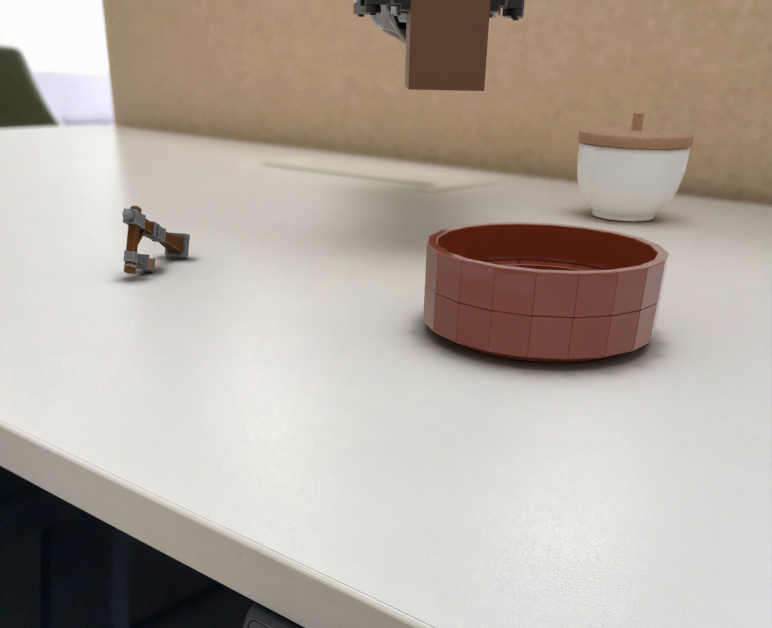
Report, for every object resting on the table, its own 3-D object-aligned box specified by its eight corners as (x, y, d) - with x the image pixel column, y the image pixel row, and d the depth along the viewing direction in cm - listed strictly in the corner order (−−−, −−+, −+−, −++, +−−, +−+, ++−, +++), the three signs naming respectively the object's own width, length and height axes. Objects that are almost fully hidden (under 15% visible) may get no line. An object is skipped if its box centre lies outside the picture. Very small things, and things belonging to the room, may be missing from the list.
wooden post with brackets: (108, 268, 55) (113, 199, 55) (163, 290, 63) (168, 229, 62) (133, 270, 55) (138, 201, 54) (185, 292, 63) (190, 231, 62)
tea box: (404, 86, 64) (408, -71, 59) (475, 87, 64) (485, -70, 59) (407, 89, 59) (412, -82, 54) (485, 91, 59) (497, -80, 54)
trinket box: (612, 229, 76) (630, 118, 72) (548, 209, 85) (559, 109, 80) (701, 222, 80) (722, 117, 76) (630, 204, 89) (646, 108, 84)
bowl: (502, 290, 56) (509, 214, 54) (687, 331, 49) (706, 245, 46) (377, 332, 47) (379, 243, 45) (580, 389, 40) (596, 287, 38)
